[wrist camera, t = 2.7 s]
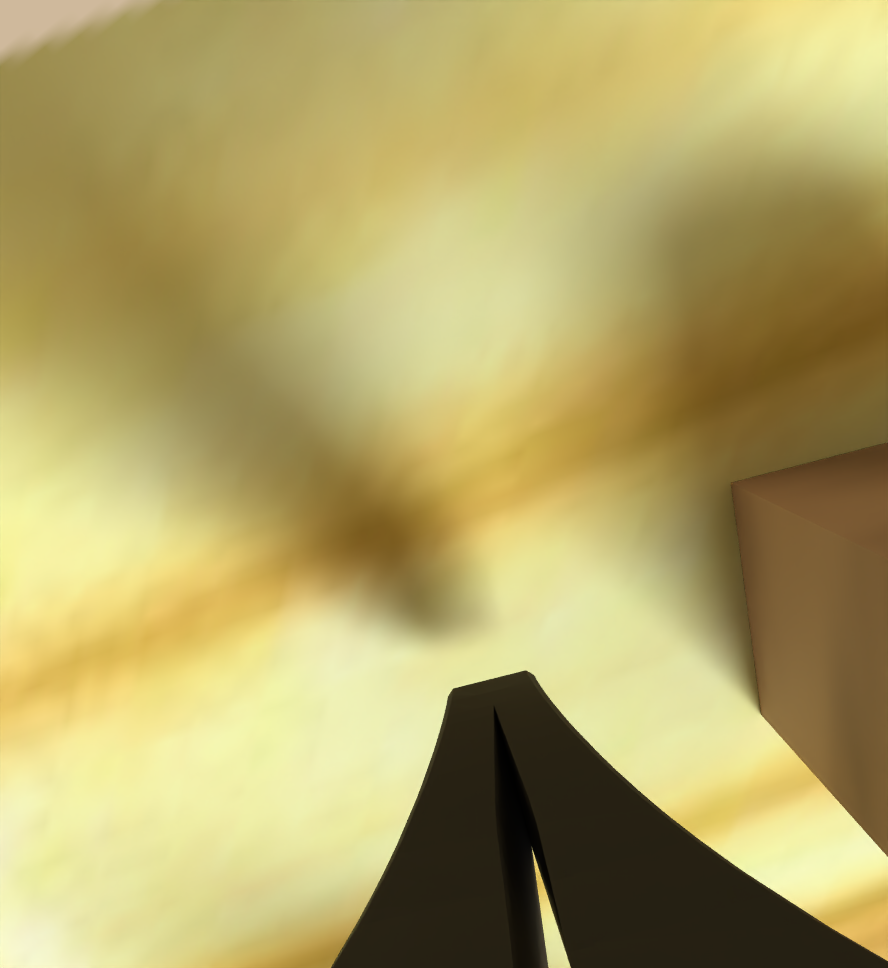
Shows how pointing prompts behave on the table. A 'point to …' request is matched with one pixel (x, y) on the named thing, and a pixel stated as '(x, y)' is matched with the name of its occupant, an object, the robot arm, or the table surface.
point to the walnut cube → (823, 619)
